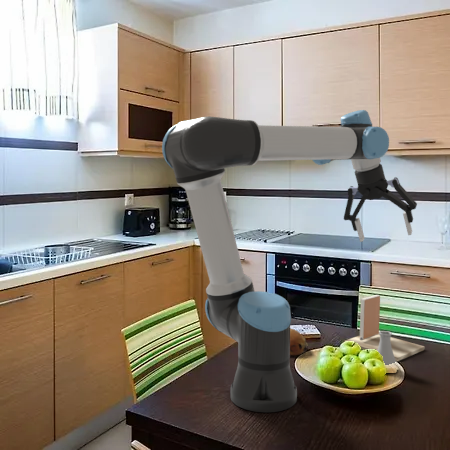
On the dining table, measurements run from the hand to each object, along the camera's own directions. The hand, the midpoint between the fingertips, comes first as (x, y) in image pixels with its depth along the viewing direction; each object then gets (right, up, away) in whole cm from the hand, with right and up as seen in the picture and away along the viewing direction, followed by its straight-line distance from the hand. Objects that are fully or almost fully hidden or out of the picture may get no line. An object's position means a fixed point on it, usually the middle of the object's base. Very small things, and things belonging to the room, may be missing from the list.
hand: (385, 236), depth 147 cm
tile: (-3, -30, +8) cm, 31 cm away
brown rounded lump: (-27, -33, +2) cm, 43 cm away
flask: (-4, -35, -13) cm, 37 cm away
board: (+1, -33, +4) cm, 33 cm away
